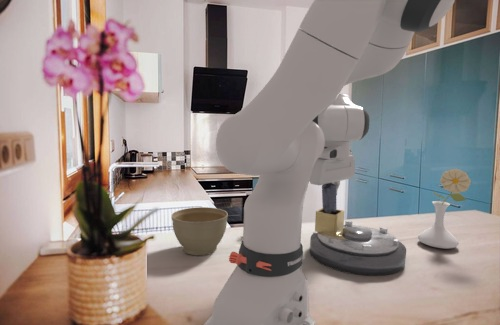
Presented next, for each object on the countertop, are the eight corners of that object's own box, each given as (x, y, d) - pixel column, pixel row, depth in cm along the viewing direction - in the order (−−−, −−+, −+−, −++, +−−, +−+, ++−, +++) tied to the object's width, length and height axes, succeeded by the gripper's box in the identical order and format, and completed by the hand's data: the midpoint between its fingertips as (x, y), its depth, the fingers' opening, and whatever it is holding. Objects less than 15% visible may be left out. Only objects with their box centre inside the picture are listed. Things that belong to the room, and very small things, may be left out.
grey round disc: (404, 238, 98) (406, 214, 97) (388, 263, 80) (390, 233, 79) (331, 224, 111) (332, 202, 110) (303, 243, 93) (304, 217, 92)
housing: (396, 285, 78) (397, 267, 77) (295, 259, 92) (295, 243, 91) (411, 251, 100) (412, 237, 99) (327, 234, 114) (328, 221, 113)
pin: (338, 226, 101) (338, 184, 96) (333, 233, 98) (333, 189, 93) (326, 223, 103) (325, 182, 98) (321, 230, 100) (319, 187, 95)
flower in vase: (412, 245, 105) (419, 167, 102) (422, 236, 114) (428, 164, 111) (461, 256, 97) (469, 171, 94) (467, 246, 105) (475, 168, 102)
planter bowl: (215, 237, 108) (216, 204, 107) (236, 255, 94) (236, 218, 93) (166, 244, 101) (165, 209, 100) (179, 265, 87) (179, 224, 85)
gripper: (343, 147, 108) (341, 189, 110) (305, 151, 94) (303, 199, 96) (361, 149, 104) (358, 192, 105) (324, 153, 89) (322, 203, 91)
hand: (332, 195), depth 100 cm, fingers closed
